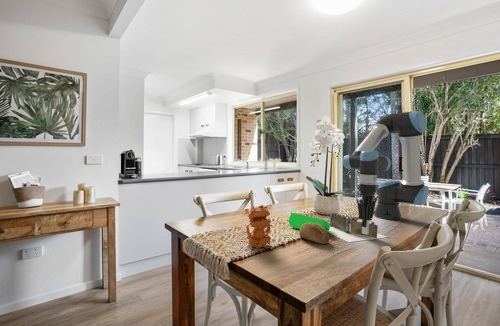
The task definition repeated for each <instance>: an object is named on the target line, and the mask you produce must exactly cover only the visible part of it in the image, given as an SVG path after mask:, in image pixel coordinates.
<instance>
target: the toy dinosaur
mask: <svg viewBox="0 0 500 326" xmlns="http://www.w3.org/2000/svg"><path fill="white" fill-rule="evenodd" d="M270 215H271V212H270V211H269V209H268V205H267V206H264V205H263V204H261V205H259V206H254V205H253V207H252V208H251V209H250V211H249V213H248V216H247V217H248V219H249V220H248V222H249V225H250V226H251V228H253V231H252V233H251V231H250V228H249V225H246V227H245V228H246V234H247V236H246V239H248V245H249V246H251V247H252V246H254V247H259V248H258V249H261V248H260V247H264V248H266V247H267V245H270V244H271V241H272V240H271V239H272V238H271V235H270V233H271V222H272V221H271V220H270V219H269V218H267V217H269V216H270ZM254 247H253V248H254Z"/></svg>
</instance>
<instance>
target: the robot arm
mask: <svg viewBox="0 0 500 326" xmlns="http://www.w3.org/2000/svg"><path fill="white" fill-rule="evenodd" d="M427 124H428V123H427V119H426V116H425V114H424V113H423V112H422V111H419V110H417V111H415V110H414V111H405V112H404V111H402V112H396V113H395V112H394V113H389V114H387V115H385V116H383V117H382V118H380V119H378V120H377V121H376V122H375V123H374V125H372V127H371V131H370V132H369V133H368V135H366V137H365V138H364V139H363V141H361V142H360V144H359V145H358V146H357V148H356V149H355V150H354V151H353V153H351V154H346V155H344V156H343V158H342V165H343V168H345V169H348V170H359V174H358V175H359V177H358V182H359V184H358V192H360V195H359V198H356V199H355V200H356V203H357V211H358V218H359V220H361V222H362V233H363V234H366V235H368V234H369V224H370V221H373V218H374V217H376V218H379V219H383V220H390V221H391V220H392V221H396V220H398V221H399V220H401V219H402V213H401V209H400V207H399V206H400V204H399V203H401V204H409V205H413V206H423V205H424V204H426V202H427V200H428V197H429V193H430V189H429V186H427V185H425V181H424V180H423V179H422V175H421V174H422V171H421V170H422V169H421V150H420V149H421V148H420V145H421V144H420V138H421V137H423V133H425V132H426V130H427V126H428V125H427ZM391 134H397V135H398V136H397V137H398V138H399V139H400V140H401V155H402V156H401V157H402V176H403V178H402V180H401V181H400V180H382V181H379V182H377V181H378V180H377V179H378V172H384V171H388V170H389V169H390V167H391V165H392V161H391V159H390V158H389V157H388V156H385V155H379V152H378V150H376V148H377V147H378V145H379V144H380V143H381V141H382V140H383V139H384V138H387V137H388V136H389V135H391ZM377 183H378V185H377ZM377 186H378V187H377ZM377 191H378V192H377ZM376 193H377V197H375V194H376ZM376 204H377V205H376Z"/></svg>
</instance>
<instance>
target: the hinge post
mask: <svg viewBox="0 0 500 326" xmlns="http://www.w3.org/2000/svg"><path fill="white" fill-rule="evenodd" d="M345 217H346V229H345V233H350V224H351V218H350V217H349V216H345Z"/></svg>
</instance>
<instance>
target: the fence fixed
mask: <svg viewBox="0 0 500 326" xmlns="http://www.w3.org/2000/svg"><path fill="white" fill-rule="evenodd" d="M329 217H330V218H329V224H331V226H334V227H336V228H338V229H341V230H343V231H345V229H346V217H347V216H345V215H343V216H342V215H341V214H337V213H336V212H335V213H333V212H330V215H329Z"/></svg>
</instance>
